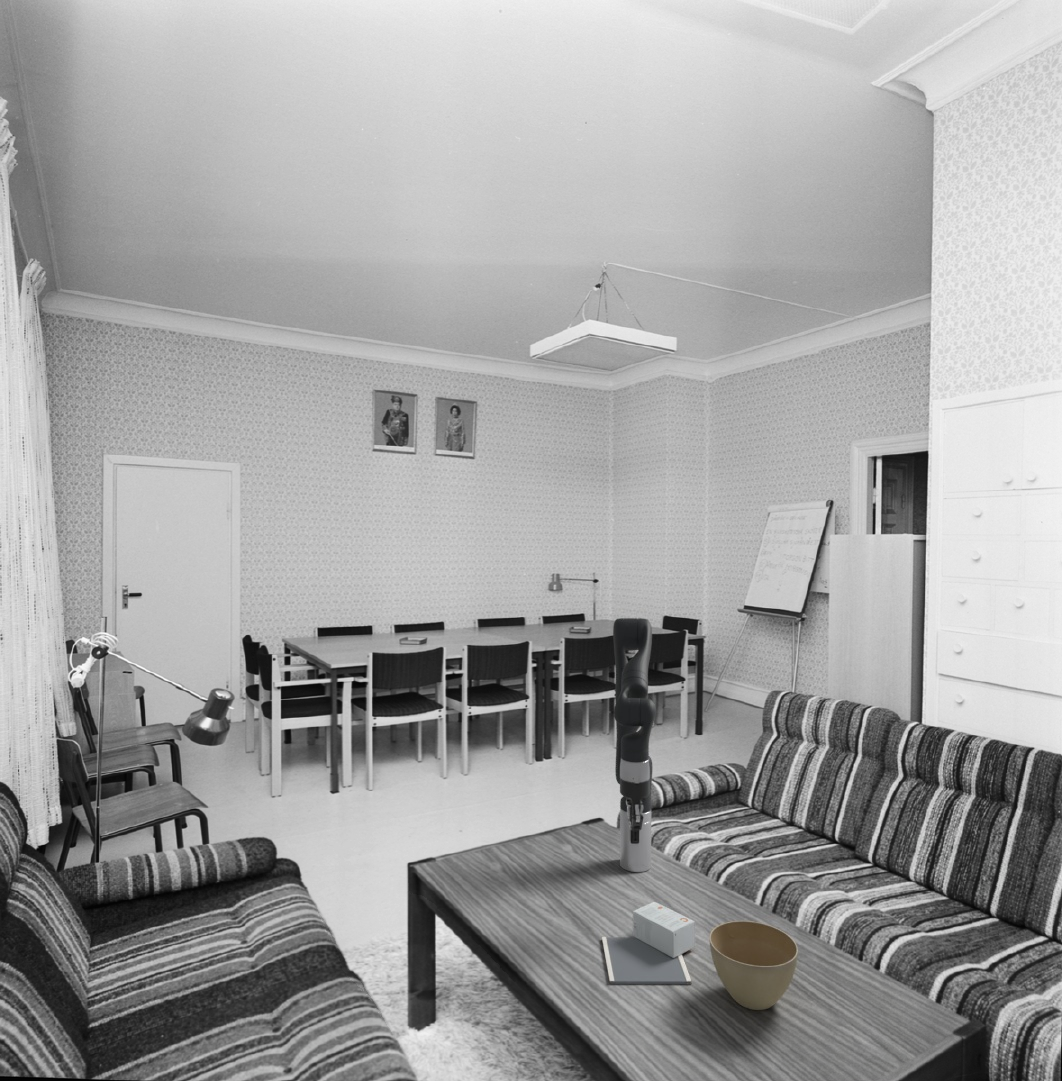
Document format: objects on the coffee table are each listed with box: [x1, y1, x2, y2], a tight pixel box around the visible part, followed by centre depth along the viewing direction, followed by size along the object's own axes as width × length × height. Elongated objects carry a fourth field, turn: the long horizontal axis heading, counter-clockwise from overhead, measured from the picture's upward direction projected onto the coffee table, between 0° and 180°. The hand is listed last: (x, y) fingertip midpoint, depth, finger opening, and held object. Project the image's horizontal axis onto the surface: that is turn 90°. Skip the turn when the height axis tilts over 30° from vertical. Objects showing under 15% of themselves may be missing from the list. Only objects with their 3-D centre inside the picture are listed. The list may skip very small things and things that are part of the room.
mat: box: [601, 936, 692, 985], centre depth 174 cm, size 18×18×1 cm
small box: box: [632, 901, 696, 958], centre depth 181 cm, size 8×6×13 cm
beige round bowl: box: [709, 920, 799, 1011], centre depth 160 cm, size 18×18×12 cm
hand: (634, 842), depth 192 cm, fingers closed
